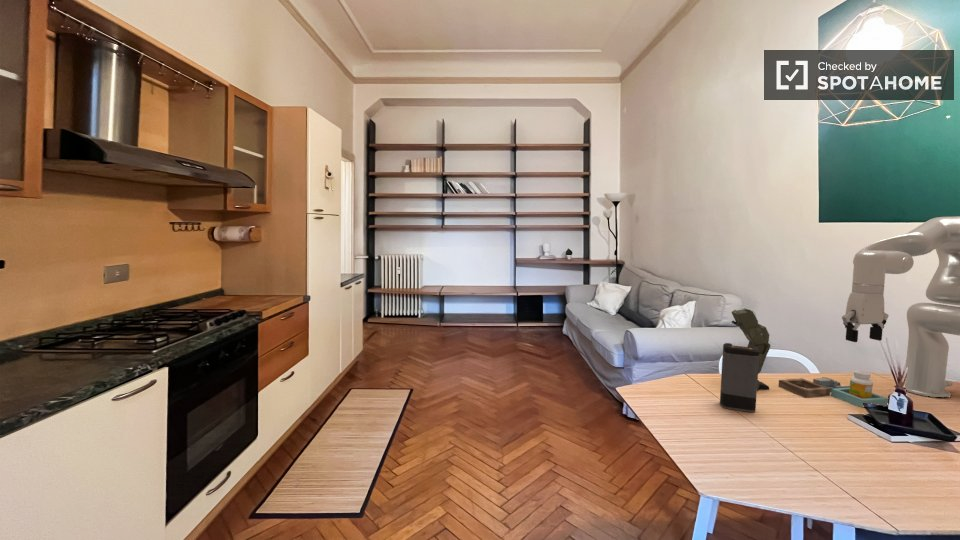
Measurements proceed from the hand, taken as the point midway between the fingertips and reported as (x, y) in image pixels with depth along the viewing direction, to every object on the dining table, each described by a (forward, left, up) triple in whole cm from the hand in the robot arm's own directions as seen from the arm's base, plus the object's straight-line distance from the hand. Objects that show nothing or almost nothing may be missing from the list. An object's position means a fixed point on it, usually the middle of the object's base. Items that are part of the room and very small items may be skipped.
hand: (863, 340), depth 132 cm
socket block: (+11, -9, -20) cm, 25 cm away
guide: (0, -9, -20) cm, 22 cm away
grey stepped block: (+3, -9, -20) cm, 23 cm away
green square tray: (+1, +1, -20) cm, 20 cm away
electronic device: (+45, -1, -21) cm, 50 cm away
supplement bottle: (0, +1, -21) cm, 21 cm away
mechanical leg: (+27, -16, -21) cm, 38 cm away
